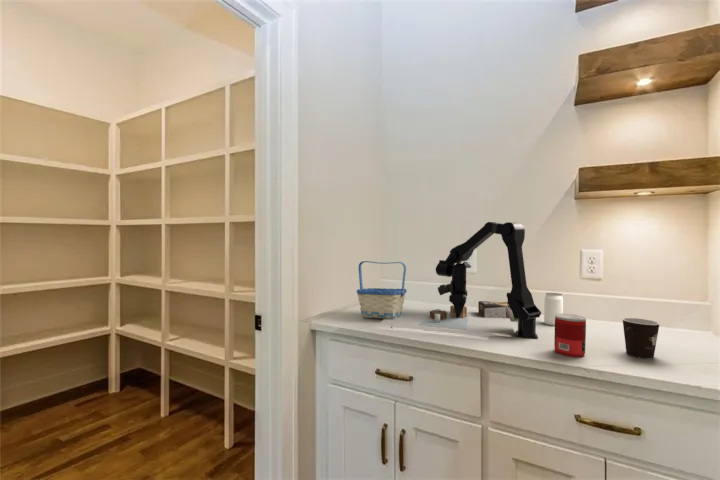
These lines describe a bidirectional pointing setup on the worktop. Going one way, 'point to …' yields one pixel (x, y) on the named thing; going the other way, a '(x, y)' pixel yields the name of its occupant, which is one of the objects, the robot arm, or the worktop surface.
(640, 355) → the coffee mug
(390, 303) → the basket
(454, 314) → the oak gear
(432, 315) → the walnut gear
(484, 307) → the coffee box
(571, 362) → the worktop surface
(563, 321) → the canned food
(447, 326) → the gear board
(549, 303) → the can
